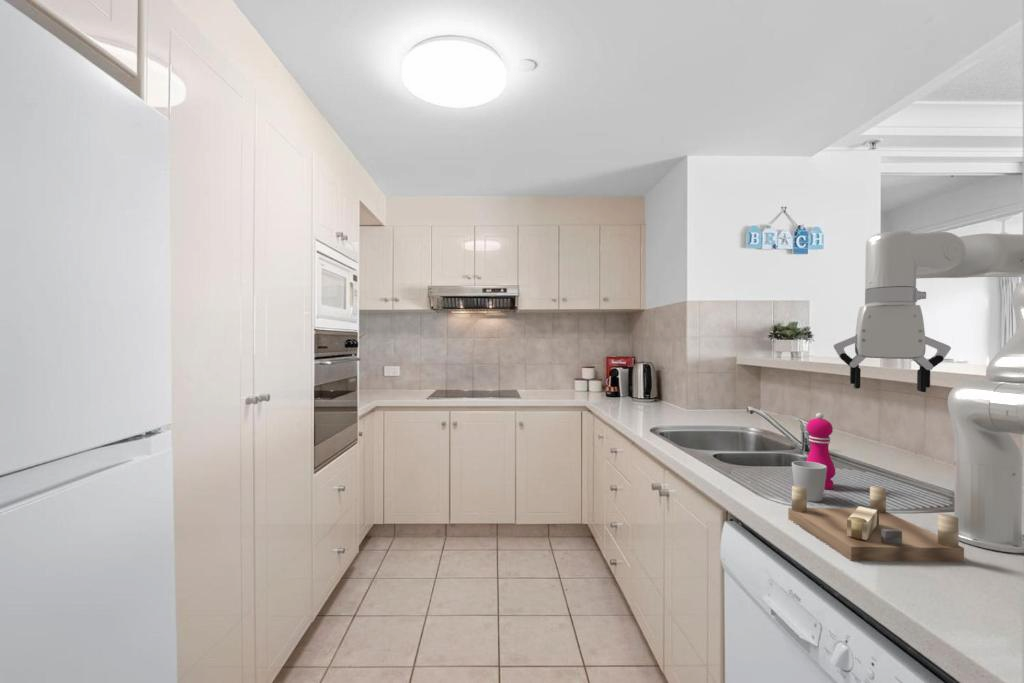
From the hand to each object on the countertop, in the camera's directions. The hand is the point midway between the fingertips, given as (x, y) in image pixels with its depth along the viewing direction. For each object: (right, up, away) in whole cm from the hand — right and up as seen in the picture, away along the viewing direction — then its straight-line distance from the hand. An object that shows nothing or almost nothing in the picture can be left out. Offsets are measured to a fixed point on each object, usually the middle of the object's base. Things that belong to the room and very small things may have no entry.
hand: (888, 389), depth 89 cm
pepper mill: (+13, -31, +41) cm, 52 cm away
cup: (+5, -31, +31) cm, 44 cm away
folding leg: (-2, -28, +3) cm, 28 cm away
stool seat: (0, -30, +6) cm, 31 cm away
